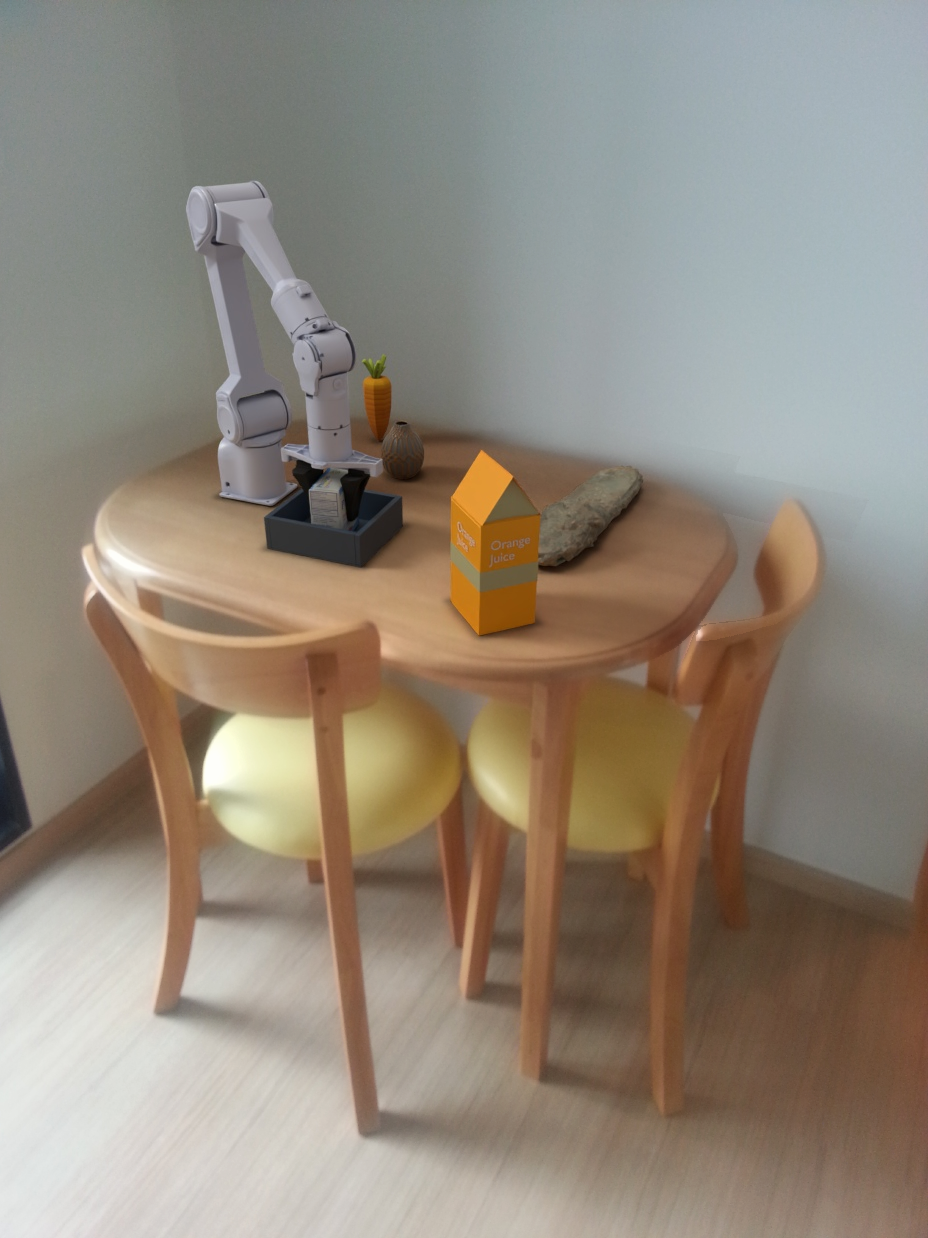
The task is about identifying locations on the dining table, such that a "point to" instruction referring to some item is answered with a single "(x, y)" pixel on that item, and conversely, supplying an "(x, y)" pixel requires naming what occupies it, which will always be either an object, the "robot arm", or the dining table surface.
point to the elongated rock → (585, 513)
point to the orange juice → (493, 549)
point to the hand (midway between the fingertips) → (335, 515)
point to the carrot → (377, 397)
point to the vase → (402, 451)
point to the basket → (334, 529)
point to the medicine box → (330, 501)
